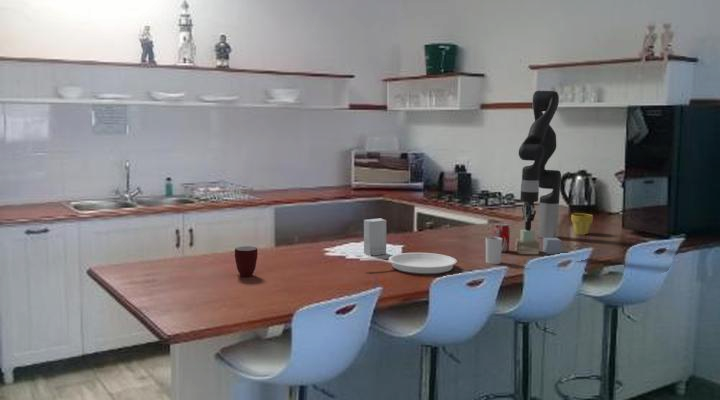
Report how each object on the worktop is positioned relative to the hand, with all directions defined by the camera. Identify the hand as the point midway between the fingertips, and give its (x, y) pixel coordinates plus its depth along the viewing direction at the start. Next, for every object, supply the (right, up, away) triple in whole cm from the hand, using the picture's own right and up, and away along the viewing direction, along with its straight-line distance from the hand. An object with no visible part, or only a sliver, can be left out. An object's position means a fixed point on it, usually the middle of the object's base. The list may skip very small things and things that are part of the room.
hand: (527, 229), depth 287 cm
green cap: (0, -5, +1) cm, 5 cm away
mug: (-115, -14, -47) cm, 125 cm away
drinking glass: (-19, -12, -20) cm, 31 cm away
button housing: (0, -10, +1) cm, 10 cm away
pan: (-55, -14, -33) cm, 65 cm away
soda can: (-11, -10, +3) cm, 15 cm away
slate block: (+11, -10, +2) cm, 15 cm away
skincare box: (-67, -10, -7) cm, 68 cm away
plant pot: (+40, -4, +50) cm, 64 cm away
